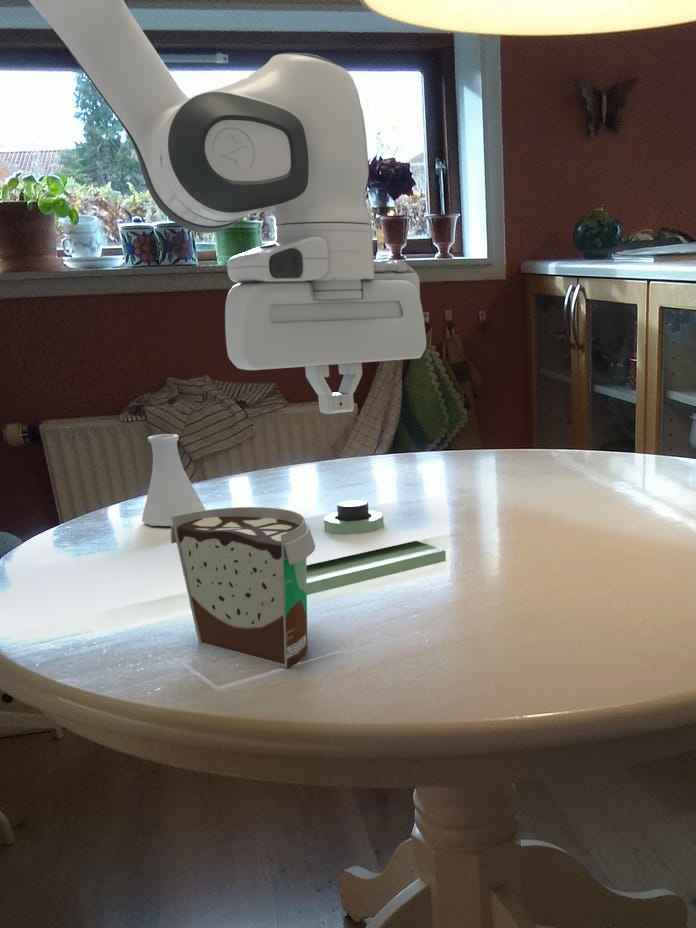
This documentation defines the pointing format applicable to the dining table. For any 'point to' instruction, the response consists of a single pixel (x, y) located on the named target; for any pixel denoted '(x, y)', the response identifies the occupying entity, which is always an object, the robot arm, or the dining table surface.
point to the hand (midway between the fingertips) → (337, 412)
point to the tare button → (352, 510)
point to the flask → (168, 484)
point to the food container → (247, 580)
